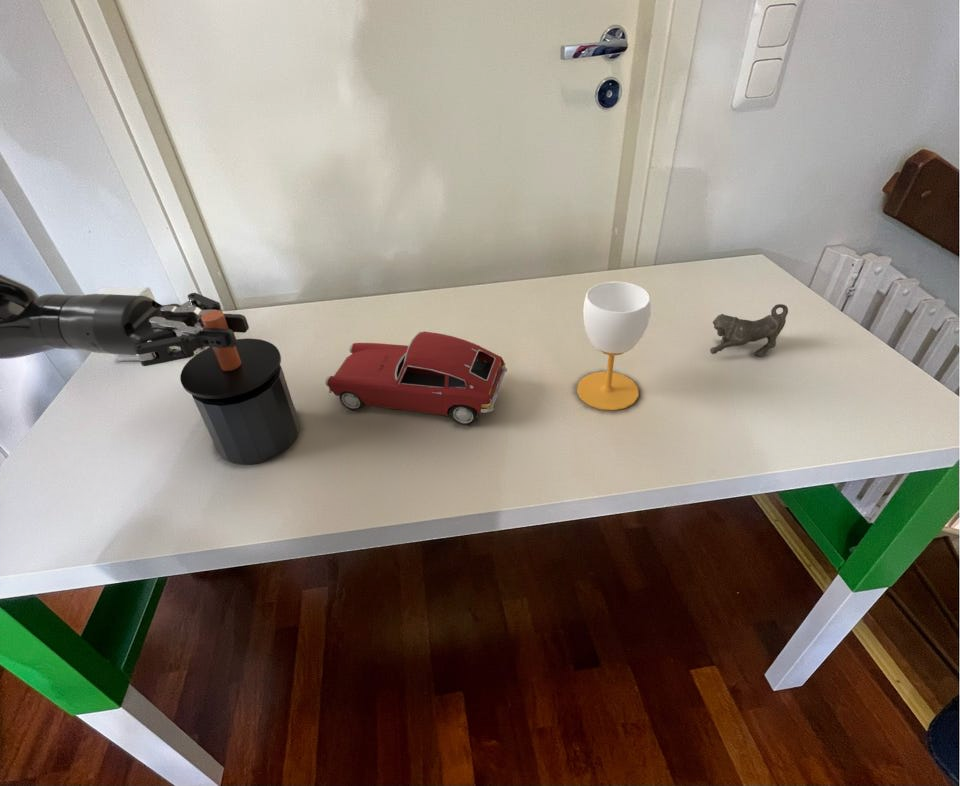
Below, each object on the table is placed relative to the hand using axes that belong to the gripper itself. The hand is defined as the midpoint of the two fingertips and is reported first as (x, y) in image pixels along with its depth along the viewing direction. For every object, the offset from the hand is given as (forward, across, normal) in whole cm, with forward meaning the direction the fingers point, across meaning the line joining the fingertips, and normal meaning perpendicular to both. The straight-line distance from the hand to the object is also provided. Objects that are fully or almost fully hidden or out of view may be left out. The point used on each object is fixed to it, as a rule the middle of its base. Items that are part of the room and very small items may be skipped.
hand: (239, 330), depth 73 cm
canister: (-3, 0, +18) cm, 18 cm away
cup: (+46, +15, +18) cm, 52 cm away
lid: (-3, 0, +6) cm, 7 cm away
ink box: (-32, +18, +18) cm, 41 cm away
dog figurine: (+67, +28, +18) cm, 75 cm away
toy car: (+18, +11, +18) cm, 28 cm away
